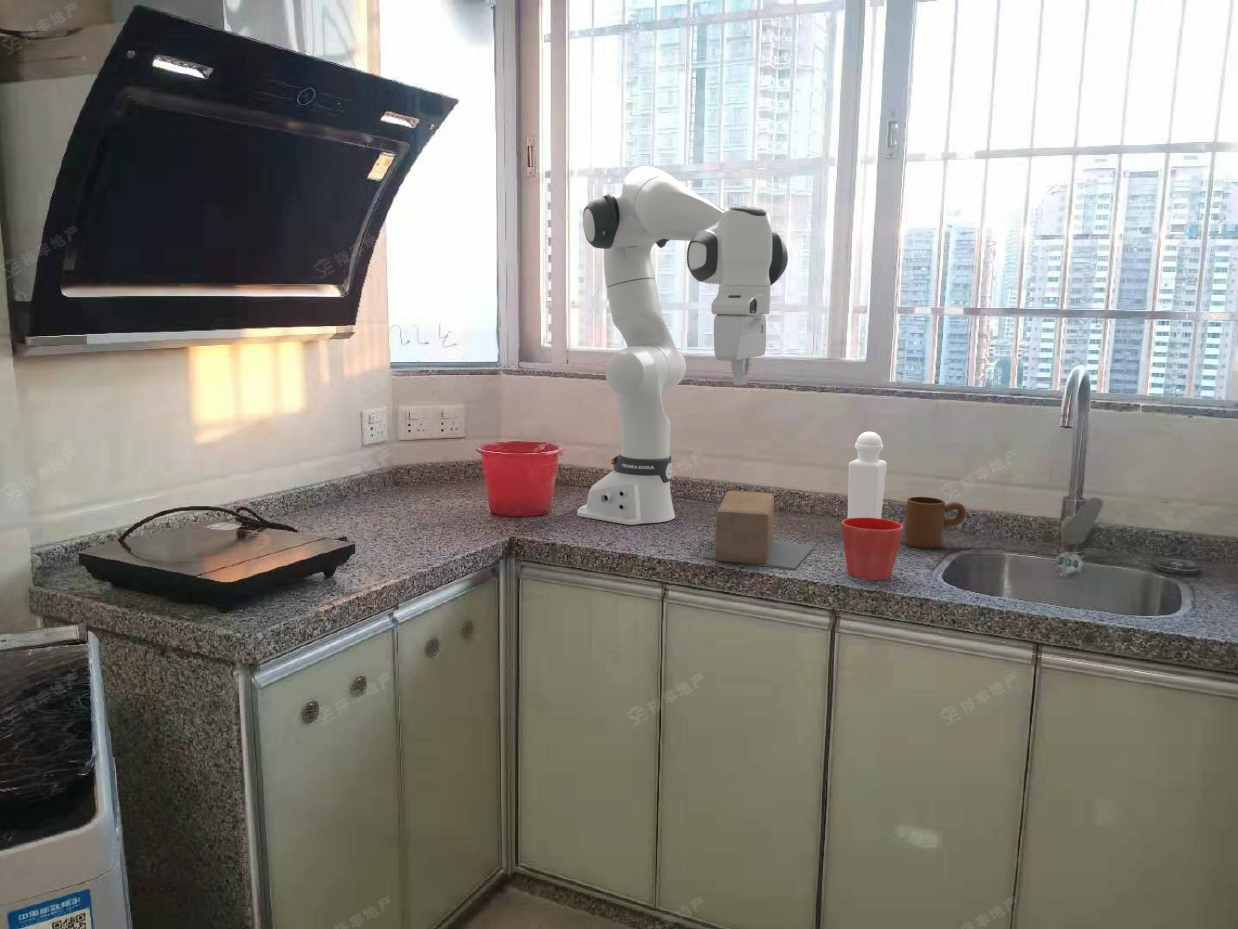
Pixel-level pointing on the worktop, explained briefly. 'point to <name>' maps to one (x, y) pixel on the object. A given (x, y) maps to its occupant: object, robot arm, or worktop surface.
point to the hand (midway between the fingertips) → (740, 384)
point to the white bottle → (866, 478)
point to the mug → (929, 521)
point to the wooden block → (744, 527)
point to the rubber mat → (778, 555)
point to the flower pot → (871, 546)
